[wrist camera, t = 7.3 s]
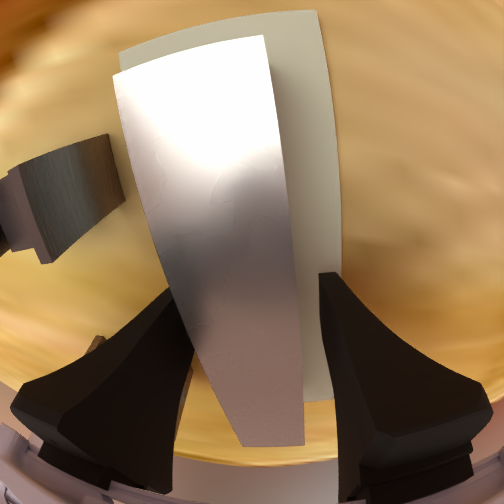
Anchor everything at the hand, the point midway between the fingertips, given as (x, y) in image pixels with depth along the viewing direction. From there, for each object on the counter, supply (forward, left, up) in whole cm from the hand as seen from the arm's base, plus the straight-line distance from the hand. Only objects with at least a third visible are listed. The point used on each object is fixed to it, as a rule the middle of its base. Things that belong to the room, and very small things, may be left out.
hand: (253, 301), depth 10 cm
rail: (0, 0, -1) cm, 1 cm away
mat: (0, 0, -2) cm, 2 cm away
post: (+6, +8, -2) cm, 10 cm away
